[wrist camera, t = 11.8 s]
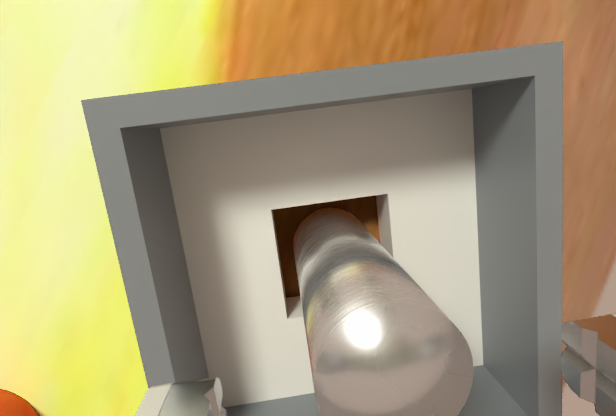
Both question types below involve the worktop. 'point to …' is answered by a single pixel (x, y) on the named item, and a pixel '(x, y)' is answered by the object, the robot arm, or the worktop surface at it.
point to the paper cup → (14, 405)
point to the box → (339, 186)
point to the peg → (373, 327)
